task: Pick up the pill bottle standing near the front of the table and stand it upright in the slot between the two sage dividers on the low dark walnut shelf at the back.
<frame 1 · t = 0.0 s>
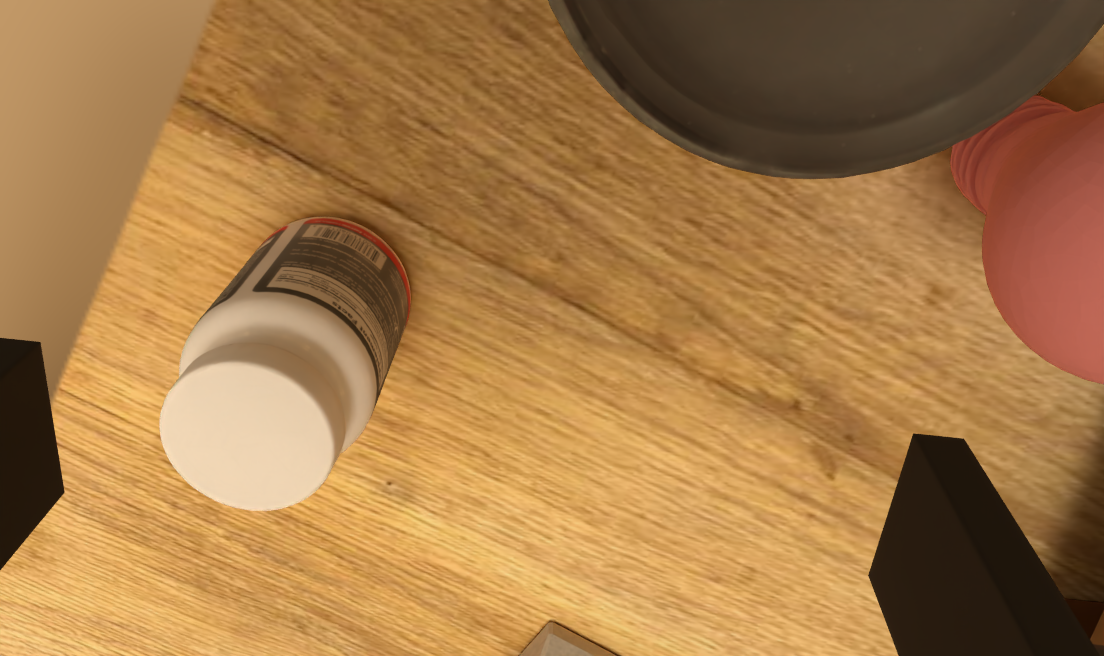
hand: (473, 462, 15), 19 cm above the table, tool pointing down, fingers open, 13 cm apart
pill bottle: (335, 285, 34), on the table
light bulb: (1005, 145, 31), on the table
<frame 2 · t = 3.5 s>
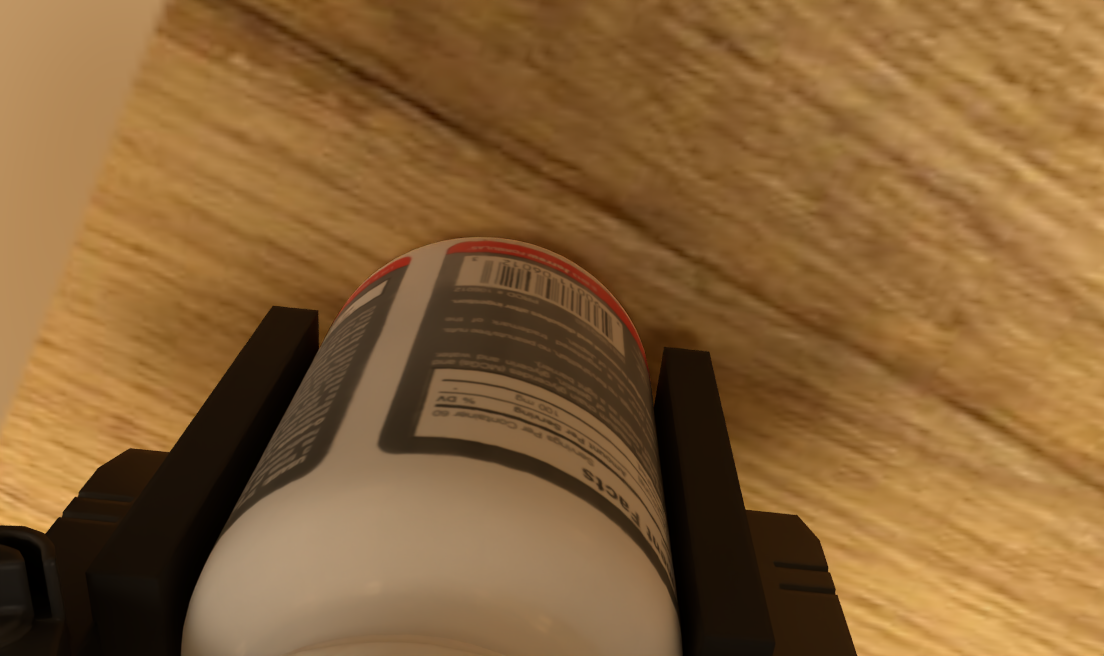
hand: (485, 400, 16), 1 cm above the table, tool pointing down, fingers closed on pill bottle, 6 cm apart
pill bottle: (491, 370, 17), on the table, touching gripper
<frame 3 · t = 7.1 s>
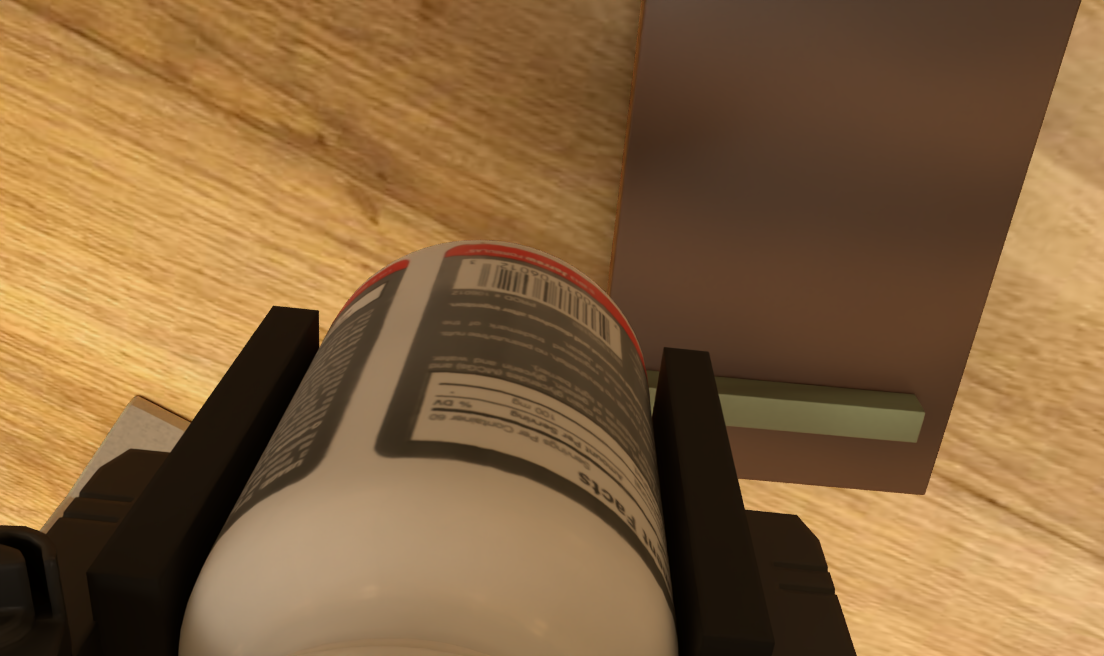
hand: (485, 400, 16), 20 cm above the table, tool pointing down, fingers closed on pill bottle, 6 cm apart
walnut shelf: (786, 132, 34), on the table
pill bottle: (489, 372, 17), point 19 cm above the table, touching gripper
barrier: (387, 586, 45), on the table
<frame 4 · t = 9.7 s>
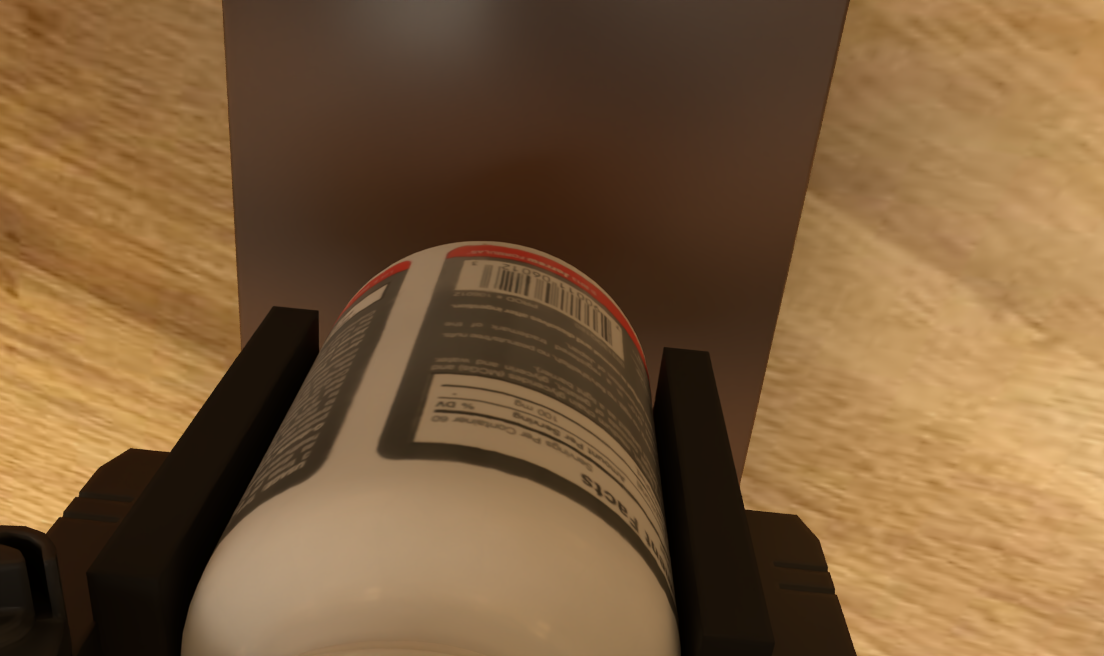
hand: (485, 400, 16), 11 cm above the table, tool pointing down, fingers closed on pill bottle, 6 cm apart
walnut shelf: (525, 190, 26), on the table
pill bottle: (491, 373, 17), point 10 cm above the table, touching gripper
when the fingers open (7 cm above the table, at t = 11.1 s): pill bottle stays where it is, resting on walnut shelf.
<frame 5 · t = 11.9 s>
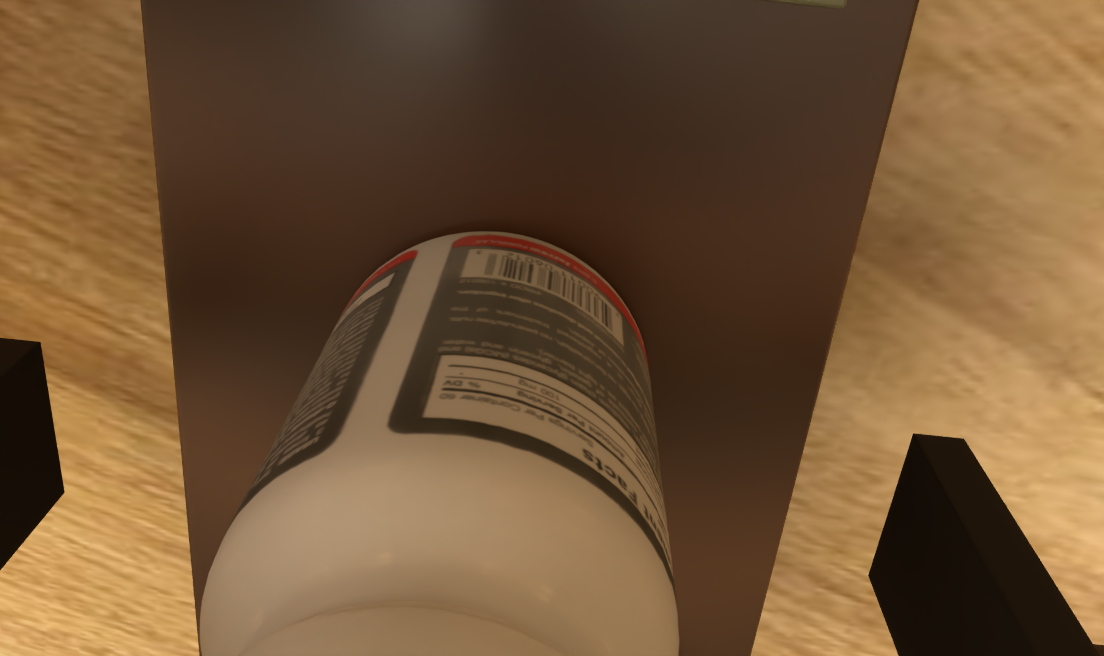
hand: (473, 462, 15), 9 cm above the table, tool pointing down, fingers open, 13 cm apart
walnut shelf: (517, 244, 23), on the table
pill bottle: (494, 361, 18), point 6 cm above the table, touching walnut shelf
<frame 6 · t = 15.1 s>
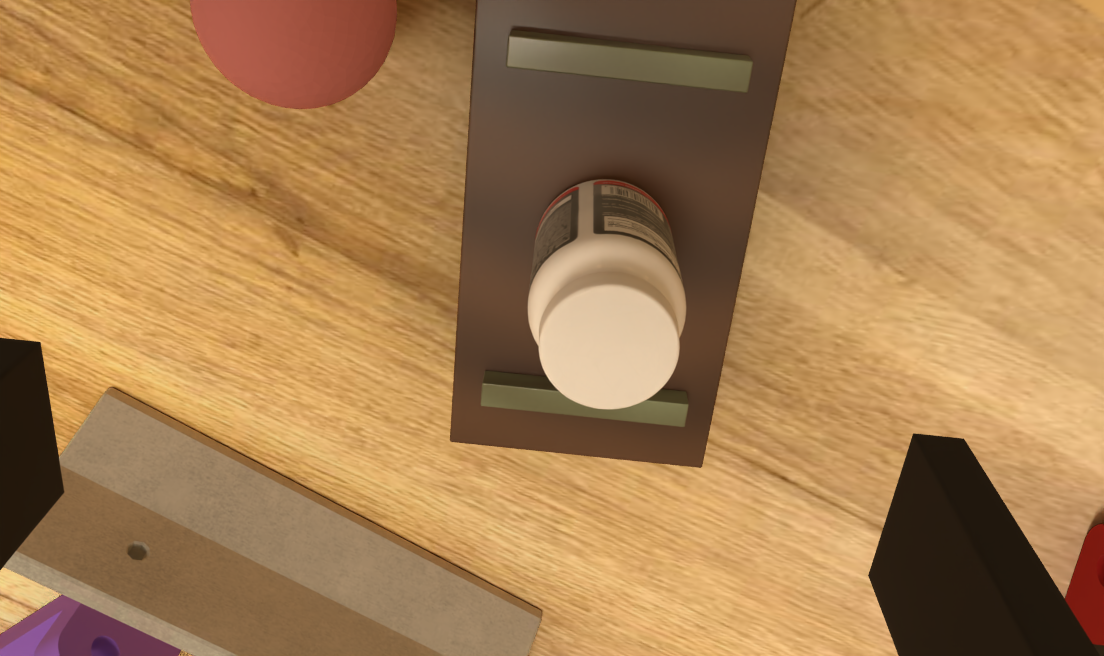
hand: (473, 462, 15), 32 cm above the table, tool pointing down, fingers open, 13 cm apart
walnut shelf: (603, 193, 46), on the table
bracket: (82, 641, 60), on the table
pill bottle: (604, 238, 41), point 6 cm above the table, touching walnut shelf
barrier: (311, 542, 56), on the table
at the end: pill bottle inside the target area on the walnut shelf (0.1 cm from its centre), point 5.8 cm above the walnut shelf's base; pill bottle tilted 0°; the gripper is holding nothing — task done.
